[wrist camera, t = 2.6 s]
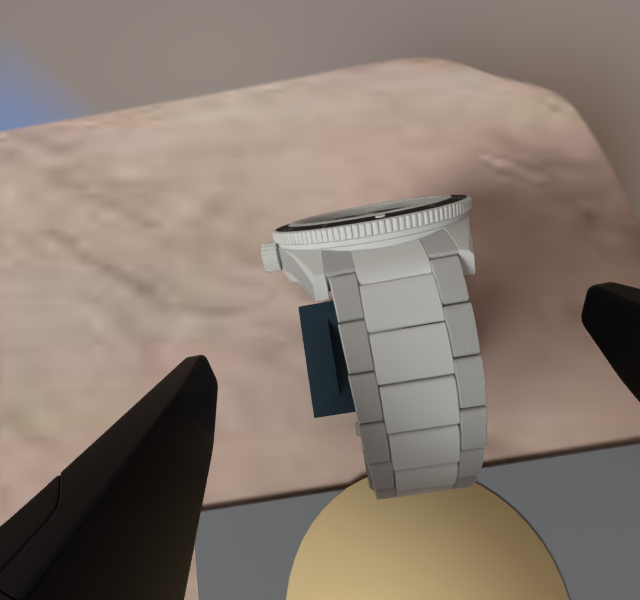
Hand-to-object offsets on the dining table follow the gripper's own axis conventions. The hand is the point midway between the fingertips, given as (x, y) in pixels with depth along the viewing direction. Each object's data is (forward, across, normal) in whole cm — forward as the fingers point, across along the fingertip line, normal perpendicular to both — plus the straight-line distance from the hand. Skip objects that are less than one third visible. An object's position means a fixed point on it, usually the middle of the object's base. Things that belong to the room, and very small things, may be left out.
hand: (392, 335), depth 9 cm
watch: (+6, 0, +6) cm, 9 cm away
